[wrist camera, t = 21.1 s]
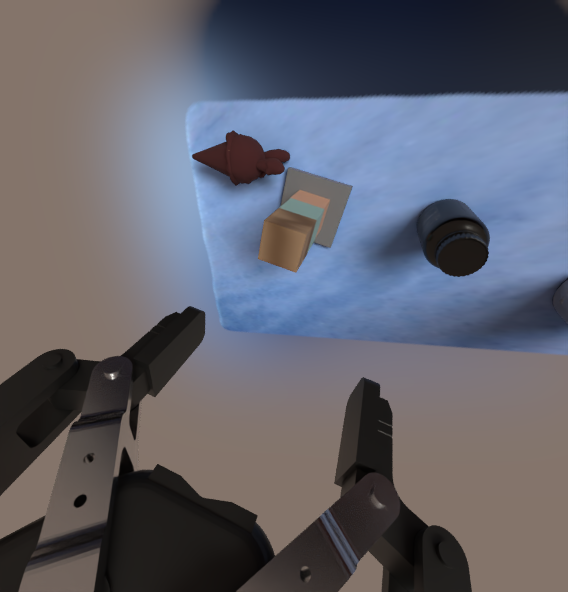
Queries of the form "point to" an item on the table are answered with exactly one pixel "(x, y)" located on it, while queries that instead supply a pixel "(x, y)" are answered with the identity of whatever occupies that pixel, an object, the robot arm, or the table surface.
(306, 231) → the walnut brick
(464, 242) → the supplement bottle
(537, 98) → the table surface
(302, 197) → the base brick
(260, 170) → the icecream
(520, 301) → the table surface
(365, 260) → the table surface
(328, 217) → the plate
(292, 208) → the teal brick
